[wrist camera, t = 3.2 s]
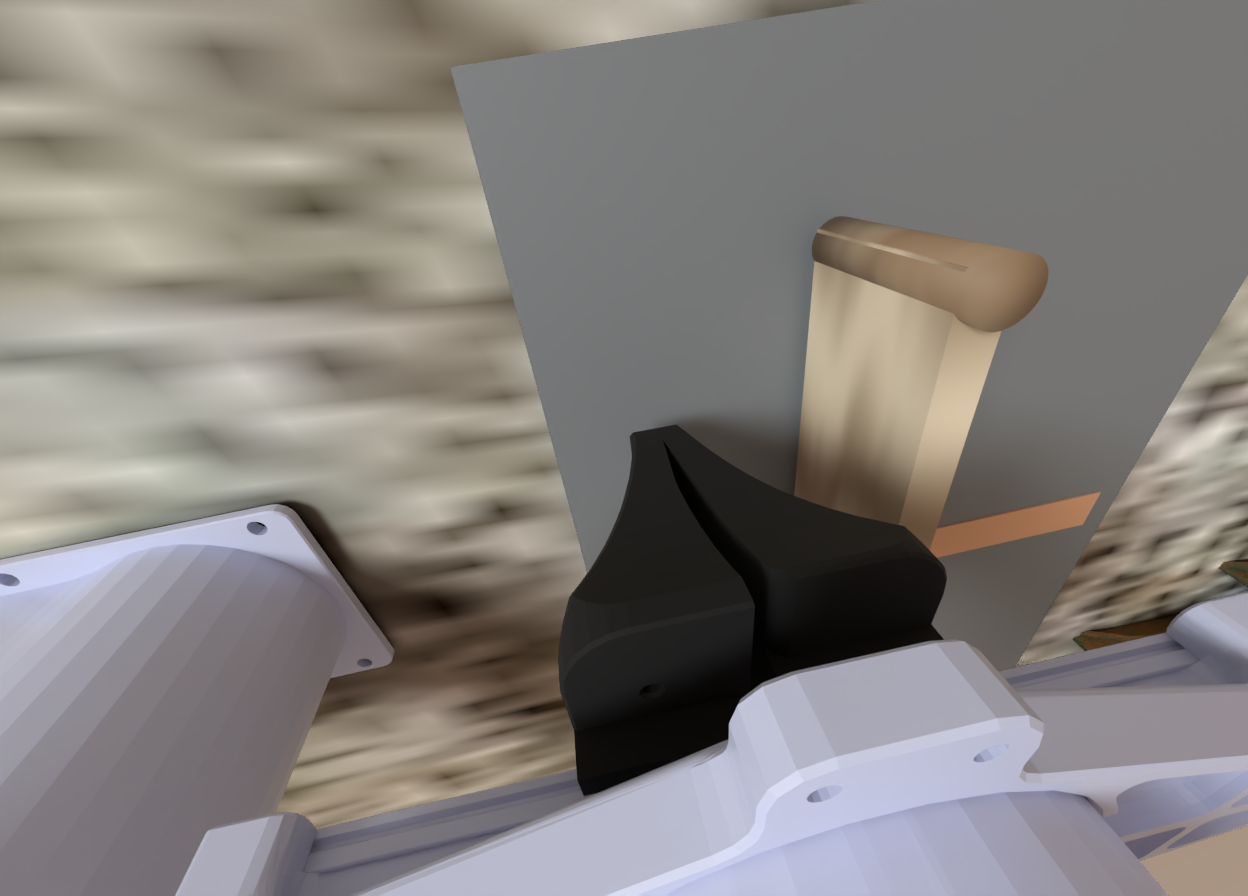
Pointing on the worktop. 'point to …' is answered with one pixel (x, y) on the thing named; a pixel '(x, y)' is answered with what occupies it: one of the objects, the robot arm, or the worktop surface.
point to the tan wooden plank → (900, 363)
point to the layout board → (888, 194)
